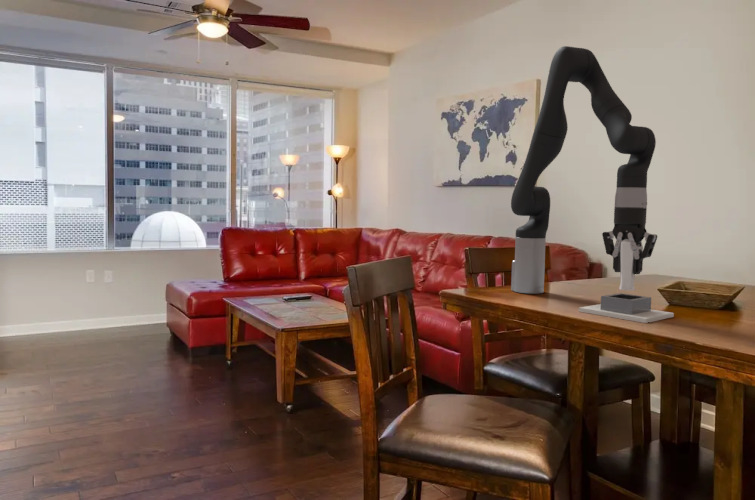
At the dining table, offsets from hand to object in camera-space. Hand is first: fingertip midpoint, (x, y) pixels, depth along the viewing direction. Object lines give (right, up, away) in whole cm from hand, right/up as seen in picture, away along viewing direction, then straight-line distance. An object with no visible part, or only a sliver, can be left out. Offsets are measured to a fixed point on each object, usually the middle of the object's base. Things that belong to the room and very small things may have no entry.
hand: (627, 272), depth 152 cm
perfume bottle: (0, -5, 0) cm, 5 cm away
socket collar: (0, -11, +1) cm, 11 cm away
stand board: (0, -11, +1) cm, 11 cm away
